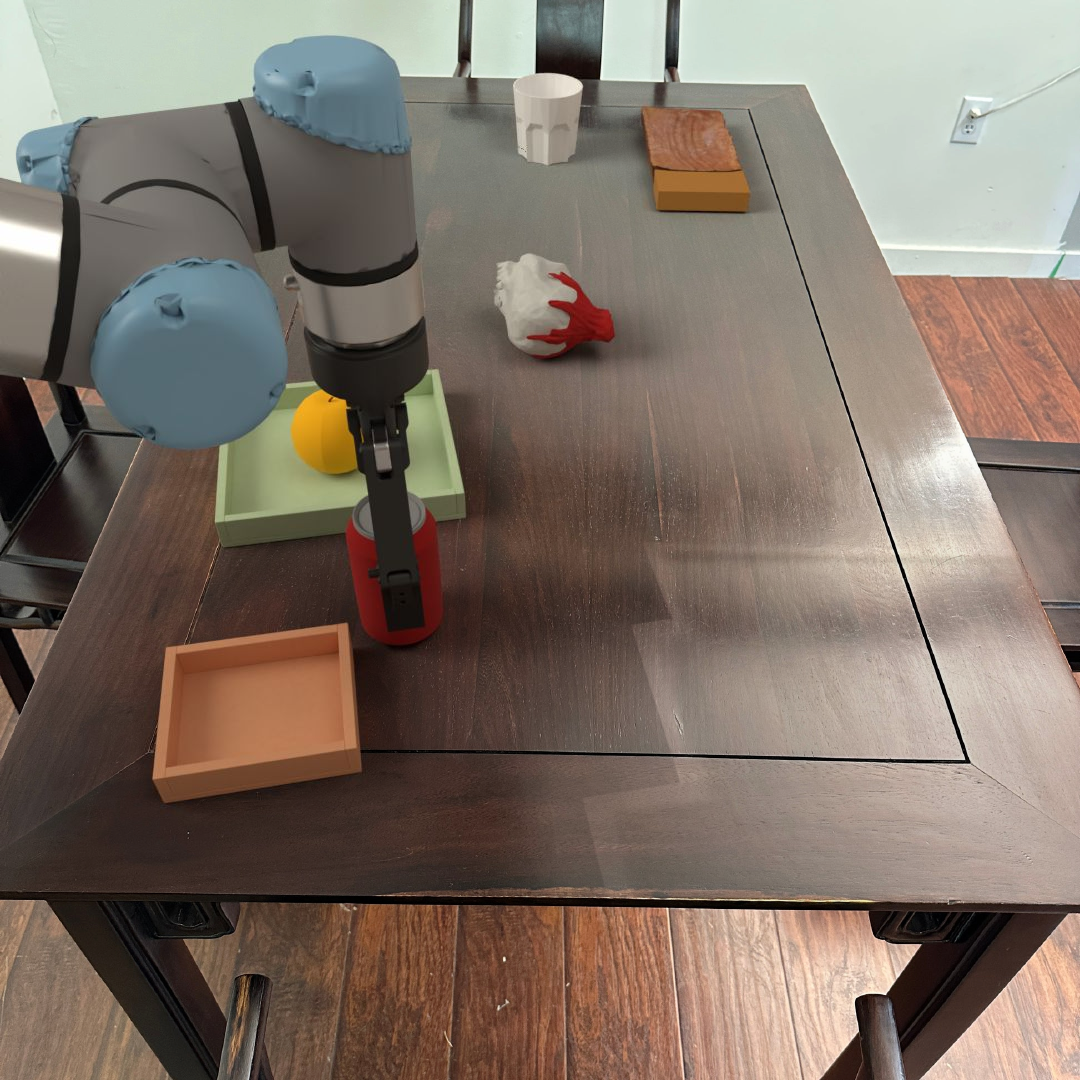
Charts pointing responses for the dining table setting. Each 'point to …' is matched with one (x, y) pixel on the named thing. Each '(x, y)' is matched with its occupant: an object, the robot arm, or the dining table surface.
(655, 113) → the wooden board
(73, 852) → the dining table surface
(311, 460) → the orange
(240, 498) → the fruit tray
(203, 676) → the drink tray
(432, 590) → the beverage can
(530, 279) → the candle
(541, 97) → the cup
